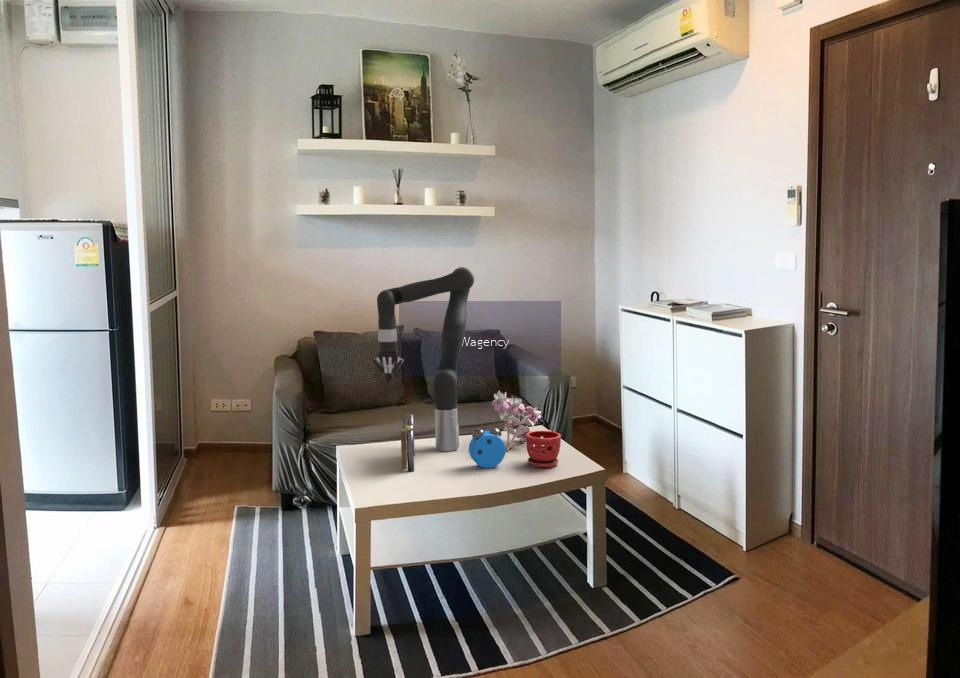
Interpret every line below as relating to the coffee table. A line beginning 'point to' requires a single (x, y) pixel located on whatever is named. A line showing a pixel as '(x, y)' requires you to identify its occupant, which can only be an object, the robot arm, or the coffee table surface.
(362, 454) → the coffee table surface
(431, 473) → the coffee table surface
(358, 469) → the coffee table surface
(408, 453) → the post
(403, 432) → the gate
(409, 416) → the hinge post
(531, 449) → the plant pot
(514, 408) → the flower
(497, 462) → the alarm clock
